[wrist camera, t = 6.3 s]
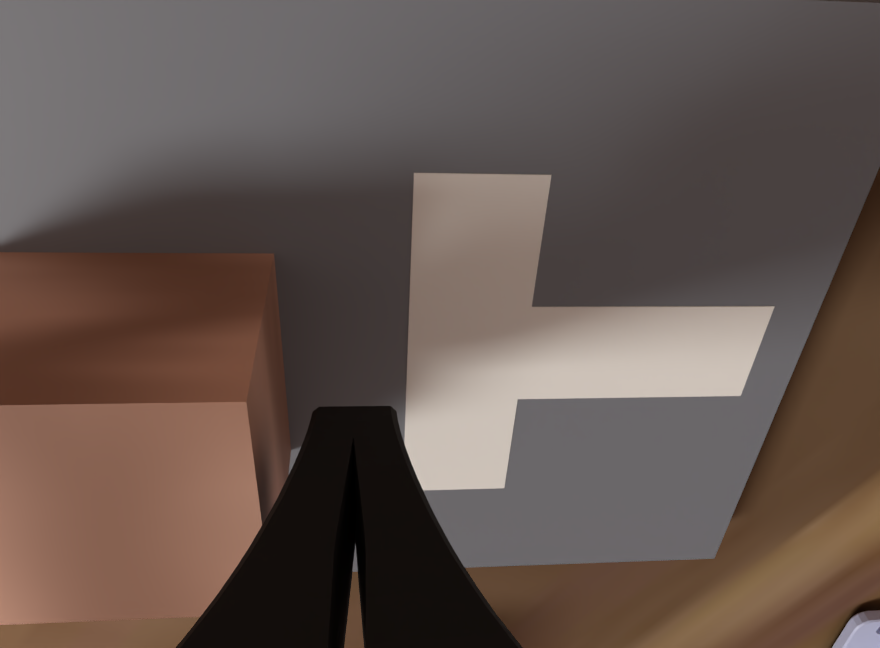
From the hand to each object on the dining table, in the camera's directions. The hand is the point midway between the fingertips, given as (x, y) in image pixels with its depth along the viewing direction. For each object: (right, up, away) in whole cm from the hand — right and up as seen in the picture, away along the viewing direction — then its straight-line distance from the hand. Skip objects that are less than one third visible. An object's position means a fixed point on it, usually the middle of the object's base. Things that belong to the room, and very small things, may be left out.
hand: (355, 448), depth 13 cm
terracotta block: (-4, +1, +2) cm, 5 cm away
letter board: (0, +2, +3) cm, 4 cm away
